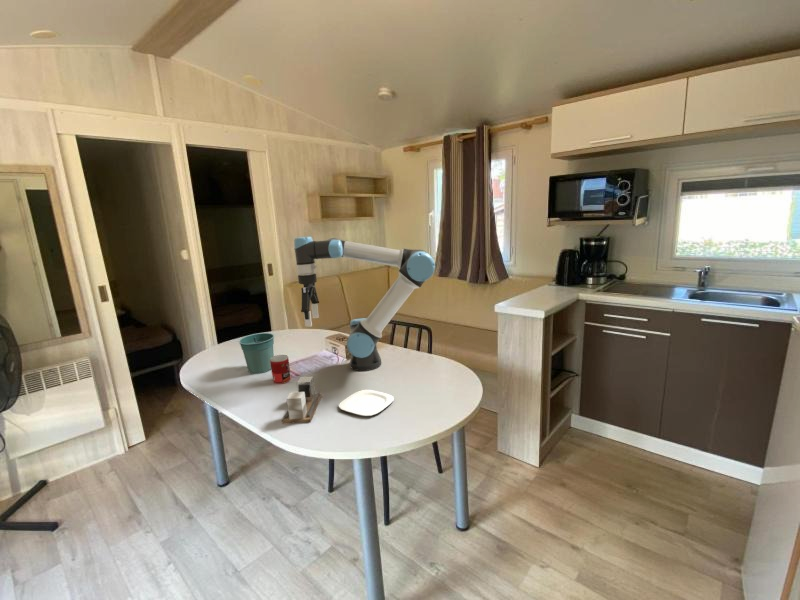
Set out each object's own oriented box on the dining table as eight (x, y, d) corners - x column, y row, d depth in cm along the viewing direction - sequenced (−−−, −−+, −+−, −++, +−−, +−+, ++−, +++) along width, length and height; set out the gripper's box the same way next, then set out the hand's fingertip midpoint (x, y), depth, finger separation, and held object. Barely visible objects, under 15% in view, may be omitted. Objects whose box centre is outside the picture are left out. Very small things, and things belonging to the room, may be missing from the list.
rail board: (322, 396, 153) (319, 375, 151) (310, 422, 133) (307, 398, 131) (297, 397, 153) (295, 376, 151) (282, 423, 134) (279, 399, 132)
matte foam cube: (302, 395, 152) (300, 377, 150) (315, 395, 152) (313, 376, 150) (299, 402, 146) (296, 383, 145) (311, 401, 146) (309, 382, 144)
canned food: (286, 384, 166) (282, 360, 164) (269, 383, 168) (266, 360, 166) (294, 377, 174) (291, 354, 171) (278, 376, 175) (275, 354, 173)
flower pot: (264, 377, 175) (259, 344, 172) (236, 374, 181) (230, 342, 177) (285, 363, 191) (281, 333, 187) (258, 361, 196) (254, 332, 193)
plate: (371, 422, 132) (371, 417, 131) (333, 410, 141) (332, 406, 141) (399, 400, 146) (399, 396, 146) (362, 391, 156) (362, 387, 156)
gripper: (308, 277, 147) (314, 329, 152) (321, 269, 171) (326, 314, 176) (289, 279, 147) (296, 331, 152) (305, 270, 172) (310, 315, 176)
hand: (312, 322), depth 164 cm, fingers open, 13 cm apart
